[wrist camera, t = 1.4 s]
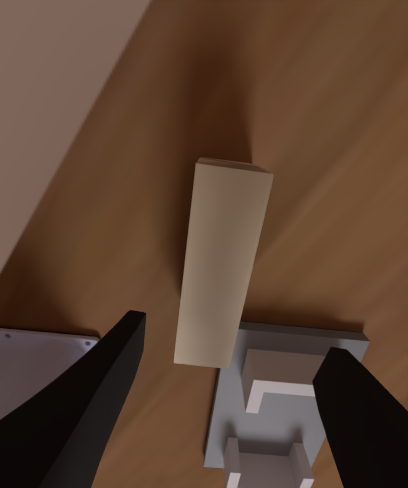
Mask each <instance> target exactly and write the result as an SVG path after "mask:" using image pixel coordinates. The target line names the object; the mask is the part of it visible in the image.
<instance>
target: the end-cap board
mask: <svg viewBox="0 0 408 488" xmlns="http://www.w3.org/2000/svg"><path fill="white" fill-rule="evenodd" d="M369 343H370V341H369V340H368V338H367V337H366V336H365V335H364V333H358V332H348V331H337V330H327V329H316V328H305V327H295V326H284V325H274V324H263V323H252V322H242V321H240V324H239V328H238V332H237V336H236V341H235V345H234V349H233V354H232V358H231V362H230V367H229V369H224V368H219V370H218V376H217V382H216V388H215V394H214V400H213V406H212V411H211V417H210V423H209V429H208V435H207V441H206V447H205V452H204V467H215V468H224V481H225V488H310V487H311V485H312V483H313V481H314V477H313V474H312V470H311V467H312V464H313V462H314V460H315V458H316V456H317V454H318V452H319V449H320V447H321V445H322V443H323V441H324V439H325V437H326V433H325V430H324V427H323V424H322V421H321V418H320V415H319V412H318V407H317V403H316V399H315V394H314V388H313V383H312V380H313V379H314V377H315V375H316V373H317V371H318V369H319V368H320V366H321V364H322V362H323V360H324V358H325V356H326V355H327V353H328V351H329V349H330V347H331V346H332V347H337V348H343V349H347V350H348V351H349V352H350V353H351V354H352V355H353V356H354V357H355V358H356V359H357V360H358V361H359V362H361V360H362V358H363V356H364V353H365V351H366V349H367V347H368V345H369Z"/></svg>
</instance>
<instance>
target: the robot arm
mask: <svg viewBox="0 0 408 488" xmlns="http://www.w3.org/2000/svg"><path fill="white" fill-rule="evenodd" d="M145 323H146V313H144V312H139V311H133V310H130V311H128V312H127V313H126V314H125V315H124V316H123V317H122V319H121V320H120V321H119V322H118V323H117V324H116V325H115V326H114V327H113V328H112V329H111V330H110V331H109V332H108V333H107V334H106V335H105V336H104V337H103V338H102V339H101V340H100V339H99V338H97V337H91V336H80V335H69V334H58V333H47V332H36V331H25V330H14V329H4V328H0V488H91V486H92V483H93V480H94V477H95V474H96V472H97V469H98V466H99V463H100V460H101V457H102V455H103V452H104V450H105V447H106V444H107V442H108V440H109V437H110V435H111V433H112V430H113V428H114V426H115V423H116V421H117V419H118V416H119V414H120V412H121V409H122V407H123V404H124V402H125V400H126V397H127V395H128V393H129V390H130V388H131V386H132V383H133V381H134V378H135V375H136V372H137V369H138V366H139V363H140V360H141V356H142V353H143V347H144V335H145ZM312 383H313V388H314V394H315V399H316V403H317V407H318V412H319V415H320V418H321V421H322V424H323V427H324V430H325V433H326V436H327V439H328V442H329V445H330V448H331V451H332V454H333V457H334V460H335V463H336V466H337V469H338V472H339V475H340V478H341V481H342V484H343V487H344V488H408V411H407V410H406V409H405V408H404V407H403V406H402V405H401V404H400V403H399V402H398V401H397V400H396V399H395V398H394V397H393V396H392V395H391V394H390V393H389V392H388V391H387V390H386V389H385V388H384V387H383V386H382V384H381V383H380V382H379V381H378V380H377V379H376V378H375V377H374V376H373V375H372V374H371V373H370V372H369V371H368V370H367V369H366V368H365V367H364V366H363V365H362V364H361V363H360V362H359V361H358V360H357V359H356V358H355V357H354V356H353V355H352V354H351V353H350V352H349V351H348V350H347V349H343V348H337V347H332V346H331V347H330V349H329V351H328V353H327V355H326V356H325V358H324V360H323V362H322V364H321V366H320V368H319V369H318V371H317V373H316V375H315V377H314V379H313V380H312Z"/></svg>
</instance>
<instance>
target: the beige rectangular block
mask: <svg viewBox="0 0 408 488" xmlns="http://www.w3.org/2000/svg"><path fill="white" fill-rule="evenodd" d="M273 177H274V174H273V173H271V172H269V171H267V170H265V169H262V168H260V167H258V166H256V165H254V164H251V163H244V162H236V161H229V160H222V159H215V158H208V157H200V158H199V159H198V161H197V162H196V167H195V176H194V185H193V194H192V203H191V212H190V221H189V230H188V239H187V248H186V257H185V266H184V275H183V284H182V293H181V302H180V311H179V320H178V329H177V338H176V347H175V356H174V363H179V364H188V365H197V366H206V367H215V368H224V369H229V367H230V362H231V358H232V354H233V349H234V345H235V341H236V336H237V332H238V328H239V324H240V319H241V315H242V311H243V306H244V302H245V298H246V293H247V289H248V285H249V280H250V276H251V272H252V268H253V263H254V259H255V255H256V250H257V246H258V242H259V237H260V233H261V229H262V224H263V220H264V216H265V212H266V207H267V203H268V199H269V194H270V190H271V186H272V181H273Z"/></svg>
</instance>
